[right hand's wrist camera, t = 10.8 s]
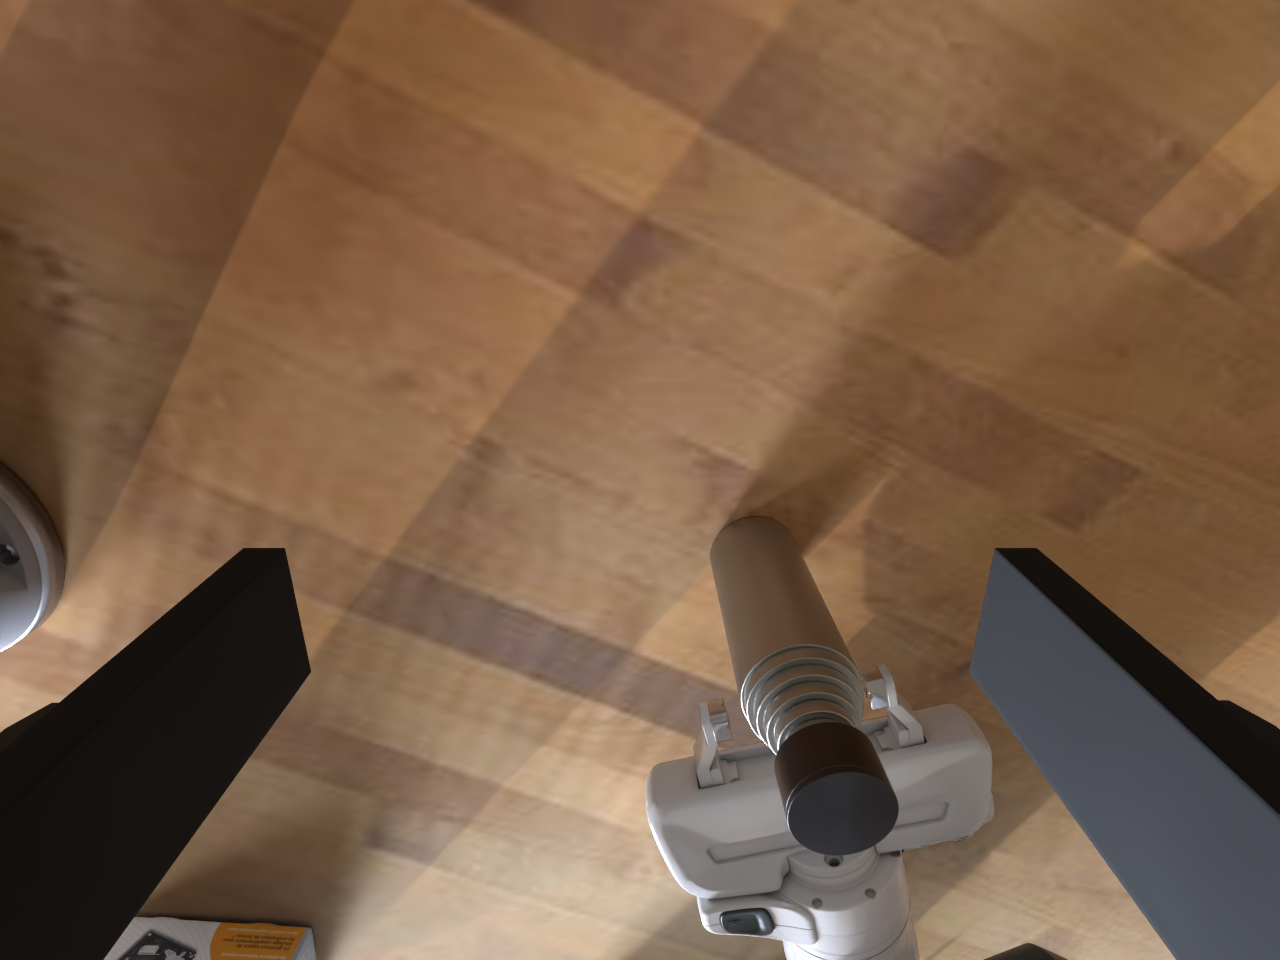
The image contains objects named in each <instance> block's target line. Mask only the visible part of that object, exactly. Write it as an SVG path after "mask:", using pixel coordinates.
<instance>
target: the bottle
mask: <svg viewBox="0 0 1280 960" xmlns="http://www.w3.org/2000/svg"><path fill="white" fill-rule="evenodd" d="M710 560H711V567H712V571H713V576H714V581H715V585H716V590H717V594H718V599H719V604H720V608H721V613H722V618H723V622H724V627H725V632H726V636H727V641H728V645H729V650H730V655H731V659H732V664H733V669H734V673H735V678H736V682H737V687H738V692H739V696H740V701H741V705H742V709H743V712H744V714H745V717H746V718H747V720H748V721H749V723H750V726H751V728H752V729H753V731H754V732H755V733H756V734H757V736H758V737H759V738H760V739H762V740H763V741H764V743H765V744H766V745H767V746H768V747H769V748H771V749H772V751H773V752H774V753H775V754H777V752H778V750H779V748H780V746H781V745H782V744H783V742H784V741H785V740H786V739H787V738H788V737H789V736H790V735H792V734H793V733H794V732H796V731H798V730H800V729H802V728H804V727H806V726H809V725H812V724H816V723H822V722H838V723H843V724H847V725H850V726H853V727H855V728H857V729H858V730H861V721H862V715H863V713H862V712H863V708H864V693H863V689H862V681H861V677H860V674H859V672H858V670H857V667H856V665H855V663H854V661H853V659H852V657H851V655H850V653H849V651H848V649H847V647H846V645H845V643H844V641H843V639H842V637H841V635H840V633H839V631H838V629H837V627H836V624H835V622H834V620H833V618H832V616H831V614H830V612H829V610H828V608H827V606H826V604H825V602H824V600H823V598H822V596H821V594H820V592H819V590H818V588H817V586H816V584H815V581H814V579H813V577H812V575H811V573H810V571H809V569H808V567H807V565H806V563H805V561H804V559H803V557H802V555H801V553H800V551H799V549H798V547H797V545H796V543H795V541H794V538H793V537H792V535H791V533H790V532H789V531H788V530H787V529H786V528H785V527H784V526H783V525H782V524H780V523H779V522H777V521H775V520H772V519H769V518H765V517H747V518H743V519H740V520H737V521H735V522H733V523H731V524H729V525H728V526H727V527H725V528H724V529H723V530H722V531H721V532H720V533H719V534H718V536H717V537H716V539H715V541H714V543H713V545H712V548H711V554H710Z"/></svg>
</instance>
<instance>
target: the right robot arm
mask: <svg viewBox="0 0 1280 960" xmlns="http://www.w3.org/2000/svg"><path fill="white" fill-rule="evenodd" d="M64 578H65V567H64V558H63V553H62V549H61V545H60V542H59V539H58V536H57V534H56V531H55V529H54V527H53V525H52V523H51V521H50V519H49V518H48V516H47V514H46V512H45V511H44V509H43V508H42V506H41V505H40V503H39V502H38V501H37V500H36V498H35V497H34V496H33V495H32V493H31V492H30V491H29V490H28V489H27V488H26V487H25V485H24V484H23V483H22V482H21V481H20V480H19V479H18V478H17V477H15V476H14V475H13V474H12V473H11V472H10V471H9V470H8V469H6V468H5V467H4V466H3V465H1V464H0V651H3V650H4V649H6V648H8V647H10V646H12V645H13V644H15V643H16V642H17V641H19V640H20V639H22V638H23V637H25V636H26V635H28V634H29V633H30V632H32V631H33V630H35V629H36V628H38V627H39V626H40V625H41V624H42V623H44V622H45V621H46V620H47V619H48V617H49V616H50V615H51V614H52V612H53V611H54V609H55V608H56V606H57V604H58V602H59V599H60V597H61V594H62V590H63V585H64ZM310 673H311V669H310V664H309V660H308V655H307V650H306V645H305V641H304V636H303V631H302V627H301V622H300V617H299V612H298V608H297V603H296V598H295V593H294V589H293V584H292V579H291V575H290V570H289V565H288V560H287V556H286V551H285V548H243V549H242V550H241V551H240V552H238V553H237V554H236V555H235V556H234V557H232V558H231V559H230V560H229V561H228V562H226V563H225V564H224V565H223V566H222V567H220V568H219V569H218V570H217V571H216V572H214V573H213V574H212V575H211V576H210V577H209V578H207V579H206V580H205V581H204V582H203V583H201V584H200V585H199V586H198V587H197V588H195V589H194V590H193V591H192V592H191V593H189V594H188V595H187V596H186V597H185V598H183V599H182V600H181V601H180V602H179V603H178V604H176V605H175V606H174V607H173V608H172V609H170V610H169V611H168V612H167V613H166V614H164V615H163V616H162V617H161V618H160V619H158V620H157V621H156V622H155V623H154V624H152V625H151V626H150V627H149V628H148V629H147V630H145V631H144V632H143V633H142V634H141V635H139V636H138V637H137V638H136V639H135V640H133V641H132V642H131V643H130V644H129V645H127V646H126V647H125V648H124V649H123V650H121V651H120V652H119V653H118V654H117V655H116V656H114V657H113V658H112V659H111V660H110V661H108V662H107V663H106V664H105V665H104V666H102V667H101V668H100V669H99V670H98V671H96V672H95V673H94V674H93V675H92V676H90V677H89V678H88V679H87V680H86V681H85V682H83V683H82V684H81V685H80V686H79V687H77V688H76V689H75V690H74V691H73V692H71V693H70V694H69V695H68V696H67V697H65V698H64V699H63V700H62V701H61V702H59V703H51V704H49V705H47V706H45V707H43V708H42V709H40V710H38V711H36V712H34V713H33V714H31V715H29V716H27V717H25V718H24V719H22V720H20V721H18V722H16V723H15V724H13V725H11V726H9V727H7V728H6V729H4V730H3V731H2V732H1V733H0V960H104V959H105V957H106V956H107V954H108V953H109V952H110V950H111V949H112V947H113V946H114V945H115V943H116V942H117V941H118V939H119V938H120V936H121V935H122V934H123V932H124V931H125V929H126V928H127V927H128V925H129V924H130V922H131V921H132V920H133V918H134V917H135V916H136V914H137V913H138V911H139V910H140V909H141V907H142V906H143V904H144V903H145V902H146V900H147V899H148V898H149V896H150V895H151V893H152V892H153V891H154V889H155V888H156V886H157V885H158V884H159V882H160V881H161V879H162V878H163V877H164V875H165V874H166V873H167V871H168V870H169V868H170V867H171V866H172V864H173V863H174V861H175V860H176V859H177V857H178V856H179V855H180V853H181V852H182V850H183V849H184V848H185V846H186V845H187V843H188V842H189V841H190V839H191V838H192V836H193V835H194V834H195V832H196V831H197V830H198V828H199V827H200V825H201V824H202V823H203V821H204V820H205V818H206V817H207V816H208V814H209V813H210V812H211V810H212V809H213V807H214V806H215V805H216V803H217V802H218V800H219V799H220V798H221V796H222V795H223V793H224V792H225V791H226V789H227V788H228V787H229V785H230V784H231V782H232V781H233V780H234V778H235V777H236V775H237V774H238V773H239V771H240V770H241V768H242V767H243V766H244V764H245V763H246V762H247V760H248V759H249V757H250V756H251V755H252V753H253V752H254V750H255V749H256V748H257V746H258V745H259V744H260V742H261V741H262V739H263V738H264V737H265V735H266V734H267V732H268V731H269V730H270V728H271V727H272V725H273V724H274V723H275V721H276V720H277V719H278V717H279V716H280V714H281V713H282V712H283V710H284V709H285V707H286V706H287V705H288V703H289V702H290V701H291V699H292V698H293V696H294V695H295V694H296V692H297V691H298V689H299V688H300V687H301V685H302V684H303V682H304V681H305V680H306V678H307V677H308V676H309V674H310ZM969 673H970V674H971V676H972V677H973V678H974V680H975V681H976V682H977V684H978V685H979V687H980V688H981V689H982V691H983V692H984V694H985V695H986V696H987V698H988V699H989V701H990V702H991V703H992V705H993V706H994V707H995V709H996V710H997V712H998V713H999V714H1000V716H1001V717H1002V719H1003V720H1004V721H1005V723H1006V724H1007V725H1008V727H1009V728H1010V730H1011V731H1012V732H1013V734H1014V735H1015V737H1016V738H1017V739H1018V741H1019V742H1020V744H1021V745H1022V746H1023V748H1024V749H1025V750H1026V752H1027V753H1028V755H1029V756H1030V757H1031V759H1032V760H1033V762H1034V763H1035V764H1036V766H1037V767H1038V768H1039V770H1040V771H1041V773H1042V774H1043V775H1044V777H1045V778H1046V780H1047V781H1048V782H1049V784H1050V785H1051V787H1052V788H1053V789H1054V791H1055V792H1056V793H1057V795H1058V796H1059V798H1060V799H1061V800H1062V802H1063V803H1064V805H1065V806H1066V807H1067V809H1068V810H1069V812H1070V813H1071V814H1072V816H1073V817H1074V818H1075V820H1076V821H1077V823H1078V824H1079V825H1080V827H1081V828H1082V830H1083V831H1084V832H1085V834H1086V835H1087V836H1088V838H1089V839H1090V841H1091V842H1092V843H1093V845H1094V846H1095V848H1096V849H1097V850H1098V852H1099V853H1100V855H1101V856H1102V857H1103V859H1104V860H1105V861H1106V863H1107V864H1108V866H1109V867H1110V868H1111V870H1112V871H1113V873H1114V874H1115V875H1116V877H1117V878H1118V879H1119V881H1120V882H1121V884H1122V885H1123V886H1124V888H1125V889H1126V891H1127V892H1128V893H1129V895H1130V896H1131V898H1132V899H1133V900H1134V902H1135V903H1136V904H1137V906H1138V907H1139V909H1140V910H1141V911H1142V913H1143V914H1144V916H1145V917H1146V918H1147V920H1148V921H1149V922H1150V924H1151V925H1152V927H1153V928H1154V929H1155V931H1156V932H1157V934H1158V935H1159V936H1160V938H1161V939H1162V941H1163V942H1164V943H1165V945H1166V946H1167V947H1168V949H1169V950H1170V952H1171V953H1172V954H1173V956H1174V957H1175V959H1176V960H1280V729H1278V728H1277V727H1276V726H1274V725H1273V724H1271V723H1269V722H1267V721H1265V720H1264V719H1262V718H1260V717H1258V716H1256V715H1254V714H1253V713H1251V712H1249V711H1247V710H1245V709H1244V708H1242V707H1240V706H1238V705H1236V704H1235V703H1233V702H1231V701H1229V700H1217V699H1216V698H1215V697H1213V696H1212V695H1211V694H1210V693H1209V692H1207V691H1206V690H1205V689H1204V688H1203V687H1201V686H1200V685H1199V684H1198V683H1197V682H1195V681H1194V680H1193V679H1192V678H1191V677H1190V676H1188V675H1187V674H1186V673H1185V672H1184V671H1182V670H1181V669H1180V668H1179V667H1178V666H1176V665H1175V664H1174V663H1173V662H1172V661H1170V660H1169V659H1168V658H1167V657H1166V656H1164V655H1163V654H1162V653H1161V652H1160V651H1159V650H1157V649H1156V648H1155V647H1154V646H1153V645H1151V644H1150V643H1149V642H1148V641H1147V640H1145V639H1144V638H1143V637H1142V636H1141V635H1139V634H1138V633H1137V632H1136V631H1135V630H1133V629H1132V628H1131V627H1130V626H1129V625H1128V624H1126V623H1125V622H1124V621H1123V620H1122V619H1120V618H1119V617H1118V616H1117V615H1116V614H1114V613H1113V612H1112V611H1111V610H1110V609H1108V608H1107V607H1106V606H1105V605H1104V604H1102V603H1101V602H1100V601H1099V600H1098V599H1097V598H1095V597H1094V596H1093V595H1092V594H1091V593H1089V592H1088V591H1087V590H1086V589H1085V588H1083V587H1082V586H1081V585H1080V584H1079V583H1077V582H1076V581H1075V580H1074V579H1073V578H1071V577H1070V576H1069V575H1068V574H1067V573H1066V572H1064V571H1063V570H1062V569H1061V568H1060V567H1058V566H1057V565H1056V564H1055V563H1054V562H1052V561H1051V560H1050V559H1049V558H1048V557H1046V556H1045V555H1044V554H1043V553H1042V552H1040V551H1039V550H1038V549H1037V548H995V551H994V556H993V560H992V565H991V570H990V575H989V579H988V584H987V589H986V593H985V598H984V603H983V608H982V612H981V617H980V622H979V627H978V631H977V636H976V641H975V645H974V650H973V655H972V660H971V664H970V669H969Z"/></svg>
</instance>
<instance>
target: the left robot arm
mask: <svg viewBox="0 0 1280 960" xmlns="http://www.w3.org/2000/svg"><path fill="white" fill-rule="evenodd" d="M859 671H860V675H861V677H862V680H861V681H862V688H863V691H864V693H865V695H866V697H867V698H868V701H869V704H870V706H871V708H872V710H874V709H880V708H885V707H886V714H887V716H885V717H880V718H875V719H870V720H865V721H861V730H860V731H861V732H863V733H864V734H865V735H866V736H867V737H868V738H869V739H870V740H871V742H872V744H873V746H874V748H875V750H876V752H877V754H878V757H879V759H880V761H881V763H882V766H883V768H884V770H885V772H886V775H887V777H888V779H889V781H890V783H891V786H892V788H893V790H894V792H895V795H896V797H897V800H898V805H899V813H898V818H897V821H896V823H895V825H894V827H893V829H892V830H891V832H890V833H889V834H888V835H887V836H886V837H885V838H884V839H883V840H882V841H880V842H879V843H878V844H876V845H875V846H873V847H871V848H869V849H867V850H864V851H862V852H858V853H855V854H850V855H842V856H833V855H824V854H820V853H816V852H813V851H811V850H809V849H807V848H805V847H804V846H802V845H801V844H800V843H799V842H798V841H797V840H796V839H795V838H794V837H793V835H792V834H791V832H790V830H789V827H788V823H787V819H786V815H785V811H784V807H783V803H782V799H781V795H780V791H779V787H778V783H777V779H776V775H775V771H774V762H775V758H776V754H775V753H774V752H773V751H772V749H771V748H769V747H768V746H767V745H766V744H765V743H764V742H760V743H755V744H750V745H746V746H741V747H736V748H731V749H726V750H722V751H718V749H717V747H718V744H719V742H723V741H727V740H731V739H732V734H731V729H730V723H729V718H728V714H727V710H726V707H725V703H724V699H723V698H720V699H715V700H710V701H707V702H702V703H699V708H700V715H701V721H702V727H701V730H700V732H699V735H698V737H697V740H696V742H695V744H694V756H693V757H688V758H683V759H678V760H674V761H668V762H663V763H659V764H657V765H655V766H654V767H653V769H652V770H651V772H650V774H649V776H648V778H647V781H646V808H647V817H648V821H649V825H650V828H651V831H652V833H653V836H654V838H655V841H656V843H657V845H658V848H659V850H660V852H661V854H662V856H663V858H664V860H665V862H666V864H667V866H668V867H669V869H670V871H671V873H672V874H673V876H674V878H675V879H676V881H677V882H678V883H679V884H680V886H681V887H682V888H684V889H685V890H686V891H687V892H689V893H691V894H692V895H695V896H696V897H697V903H698V907H699V912H700V916H701V920H702V923H703V926H704V927H705V929H706V930H708V931H709V932H711V933H715V934H725V935H745V936H757V937H765V938H771V939H777V940H782V941H783V946H784V951H785V956H786V959H787V960H920V959H919V951H918V945H917V939H916V934H915V931H914V928H913V925H912V922H911V920H910V918H909V916H910V898H909V891H908V885H907V880H906V874H905V867H904V861H903V856H902V853H903V851H906V850H912V849H917V848H923V847H927V846H931V845H934V844H936V843H940V842H945V841H950V840H952V841H960V840H964V839H967V838H969V837H972V836H973V833H974V832H975V831H977V830H978V829H979V828H980V827H982V826H983V825H985V824H986V823H988V822H990V821H992V819H993V817H994V803H993V794H992V790H991V786H992V751H991V747H990V745H989V743H988V741H987V739H986V737H985V735H984V734H983V732H982V730H981V729H980V727H979V726H978V724H977V723H976V722H975V720H974V719H973V718H972V716H971V715H970V714H969V713H967V712H966V711H965V710H963V709H962V708H960V707H959V706H957V705H956V704H953V703H948V704H942V705H937V706H932V707H928V708H923V709H918V710H914V711H913V709H912V707H911V705H910V704H909V702H908V701H907V700H906V699H905V698H904V697H903V696H902V695H901V694H900V693H899V692H898V691H896V687H895V683H894V680H893V677H892V674H891V673H890V671H889V669H888V667H887V666H886V664H885V663H882V664H878V665H874V666H869V667H865V668H861V669H859ZM984 960H1067V959H1065V958H1063V957H1061V956H1059V955H1057V954H1055V953H1053V952H1051V951H1049V950H1046V949H1044V948H1041V947H1039V946H1037V945H1034V944H1031V943H1026V944H1023V945H1020V946H1018V947H1015V948H1012V949H1010V950H1007V951H1005V952H1002V953H1000V954H997V955H994V956H992V957H989V958H987V959H984Z"/></svg>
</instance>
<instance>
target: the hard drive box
mask: <svg viewBox="0 0 1280 960" xmlns="http://www.w3.org/2000/svg"><path fill="white" fill-rule="evenodd" d="M104 960H316V954H315V947H314V940H313V934H312V929H311V928H308V927H291V926H279V925H276V924H273V923H253V924H241V923H225V922H209V921H195V920H181V919H178V918H169V917H155V918H147V917H134V918H133V920H132V921H131V922H130V924H129V925H128V927H127V928H126V929H125V931H124V932H123V934H122V935H121V936H120V938H119V939H118V941H117V942H116V943H115V945H114V946H113V947H112V949H111V950H110V952H109V953H108V954H107V956H106V957H105V959H104Z"/></svg>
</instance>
